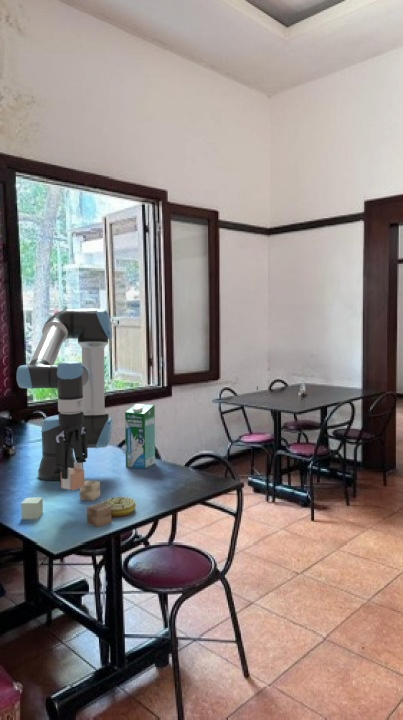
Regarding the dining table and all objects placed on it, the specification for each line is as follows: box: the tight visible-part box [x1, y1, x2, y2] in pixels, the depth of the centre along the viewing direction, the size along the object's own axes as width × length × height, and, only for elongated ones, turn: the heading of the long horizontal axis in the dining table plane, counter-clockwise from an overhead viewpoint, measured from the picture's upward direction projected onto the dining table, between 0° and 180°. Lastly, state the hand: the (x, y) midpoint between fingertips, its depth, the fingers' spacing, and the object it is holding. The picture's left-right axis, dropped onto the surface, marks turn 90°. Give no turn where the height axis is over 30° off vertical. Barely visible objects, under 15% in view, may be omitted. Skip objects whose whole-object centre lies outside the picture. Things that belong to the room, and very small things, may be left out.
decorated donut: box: [101, 496, 137, 518], centre depth 161 cm, size 10×11×4 cm
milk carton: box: [124, 403, 156, 470], centre depth 212 cm, size 9×9×25 cm
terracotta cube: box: [60, 468, 85, 491], centre depth 159 cm, size 5×5×5 cm
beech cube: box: [79, 480, 101, 501], centre depth 174 cm, size 5×5×5 cm
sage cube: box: [20, 497, 44, 520], centre depth 157 cm, size 5×5×5 cm
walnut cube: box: [86, 502, 112, 528], centre depth 152 cm, size 5×5×5 cm
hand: (72, 485), depth 159 cm, fingers closed on terracotta cube, 5 cm apart
